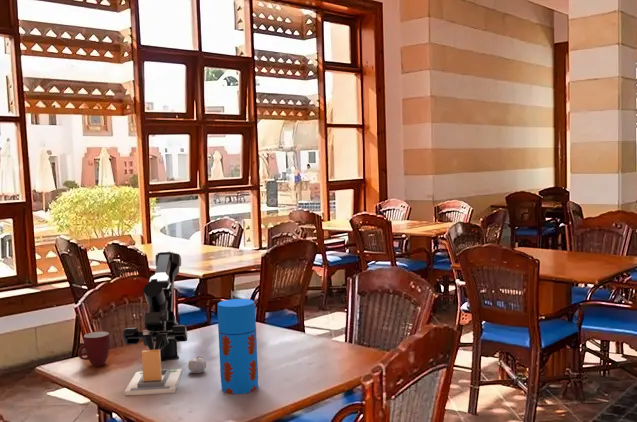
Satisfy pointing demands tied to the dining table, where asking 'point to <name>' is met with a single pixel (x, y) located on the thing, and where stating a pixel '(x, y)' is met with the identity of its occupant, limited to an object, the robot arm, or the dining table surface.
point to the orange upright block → (151, 366)
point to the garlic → (197, 365)
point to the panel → (154, 383)
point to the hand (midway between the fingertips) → (153, 359)
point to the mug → (96, 347)
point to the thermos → (237, 346)
